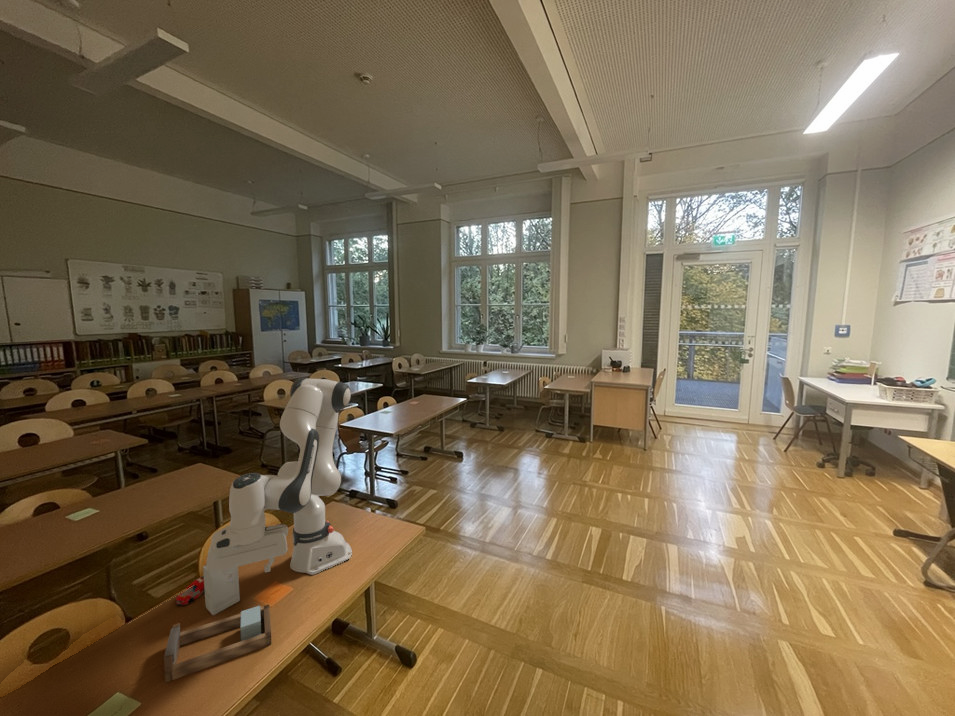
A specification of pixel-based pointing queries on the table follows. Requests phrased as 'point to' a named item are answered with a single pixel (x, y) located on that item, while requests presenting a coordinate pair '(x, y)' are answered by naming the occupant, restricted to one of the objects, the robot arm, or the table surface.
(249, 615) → the grey boxy piece
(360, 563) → the table surface
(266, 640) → the bay
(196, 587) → the race car
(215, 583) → the skincare box
